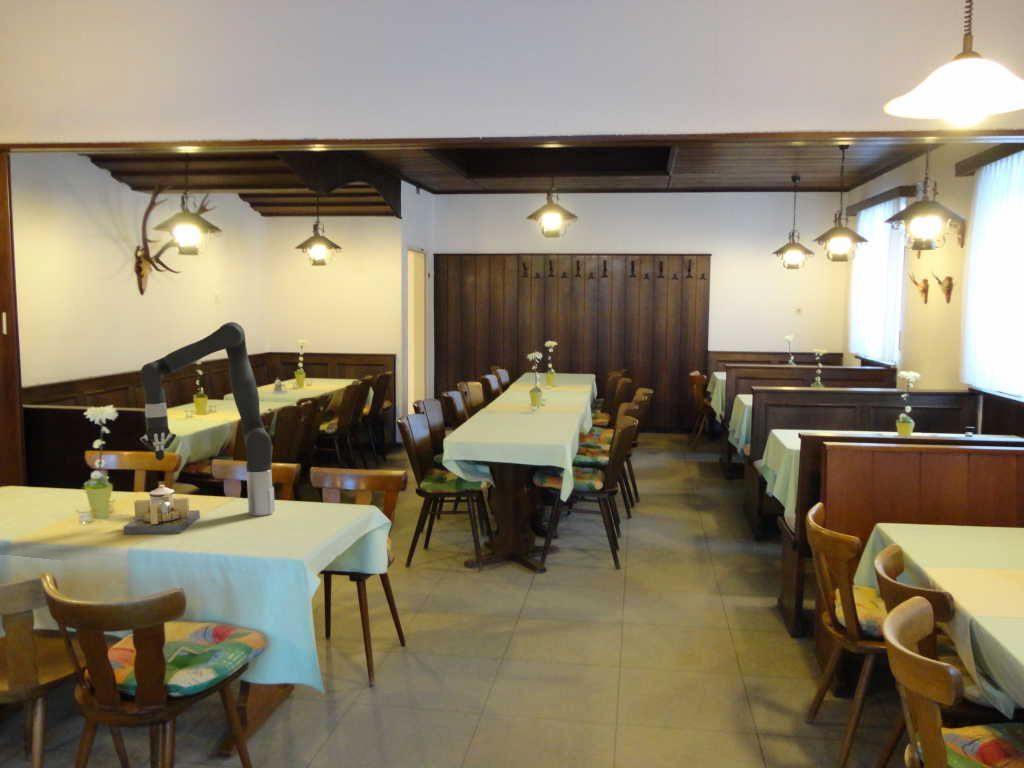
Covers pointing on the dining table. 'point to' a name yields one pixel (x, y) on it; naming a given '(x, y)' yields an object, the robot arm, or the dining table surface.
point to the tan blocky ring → (155, 512)
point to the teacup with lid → (160, 493)
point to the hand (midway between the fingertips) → (160, 460)
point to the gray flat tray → (162, 523)
